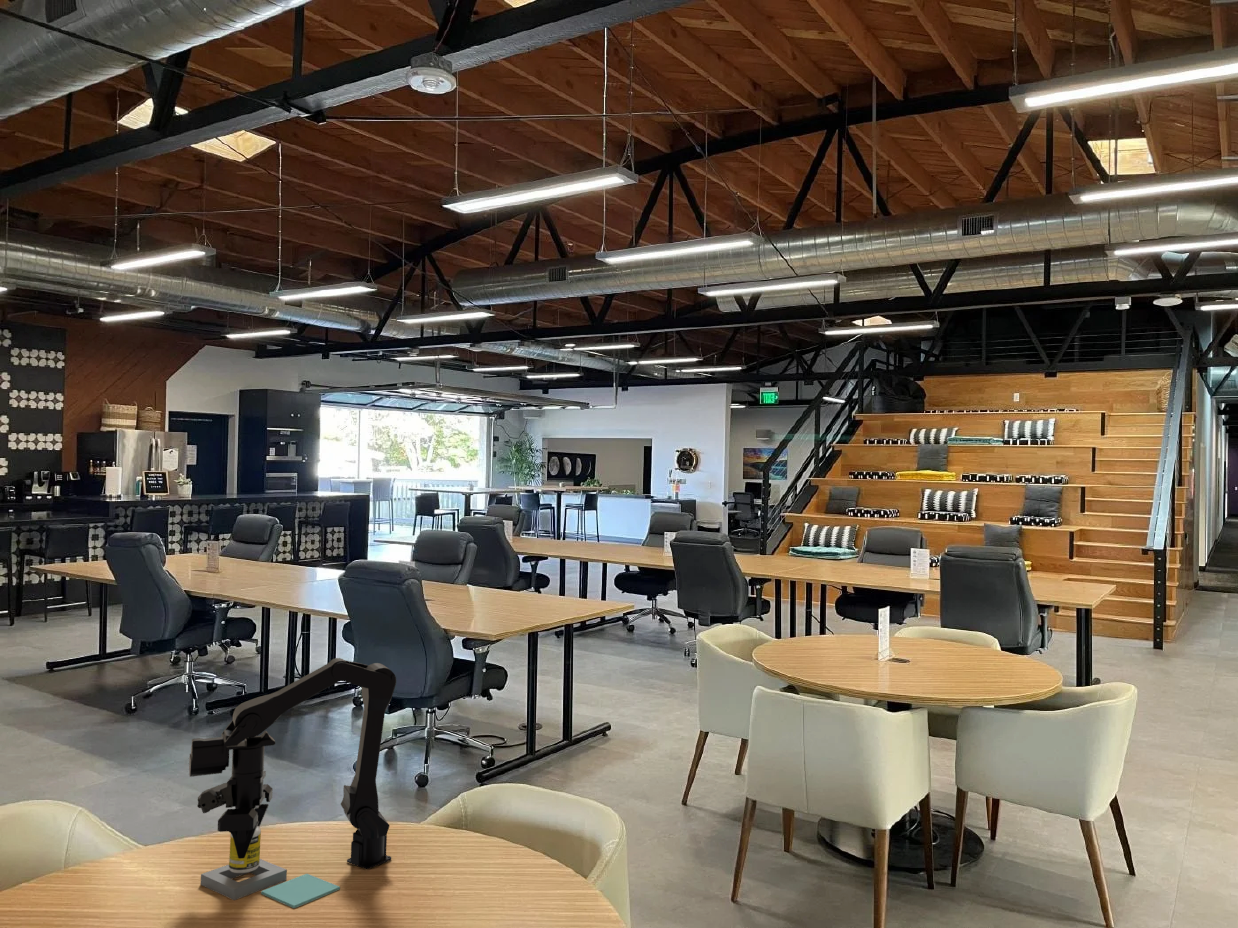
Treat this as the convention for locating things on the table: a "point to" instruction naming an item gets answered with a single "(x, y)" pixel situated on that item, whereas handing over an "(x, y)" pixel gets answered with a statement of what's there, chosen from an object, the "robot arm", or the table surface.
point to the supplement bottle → (251, 856)
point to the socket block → (232, 889)
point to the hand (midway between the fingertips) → (245, 852)
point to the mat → (300, 890)
